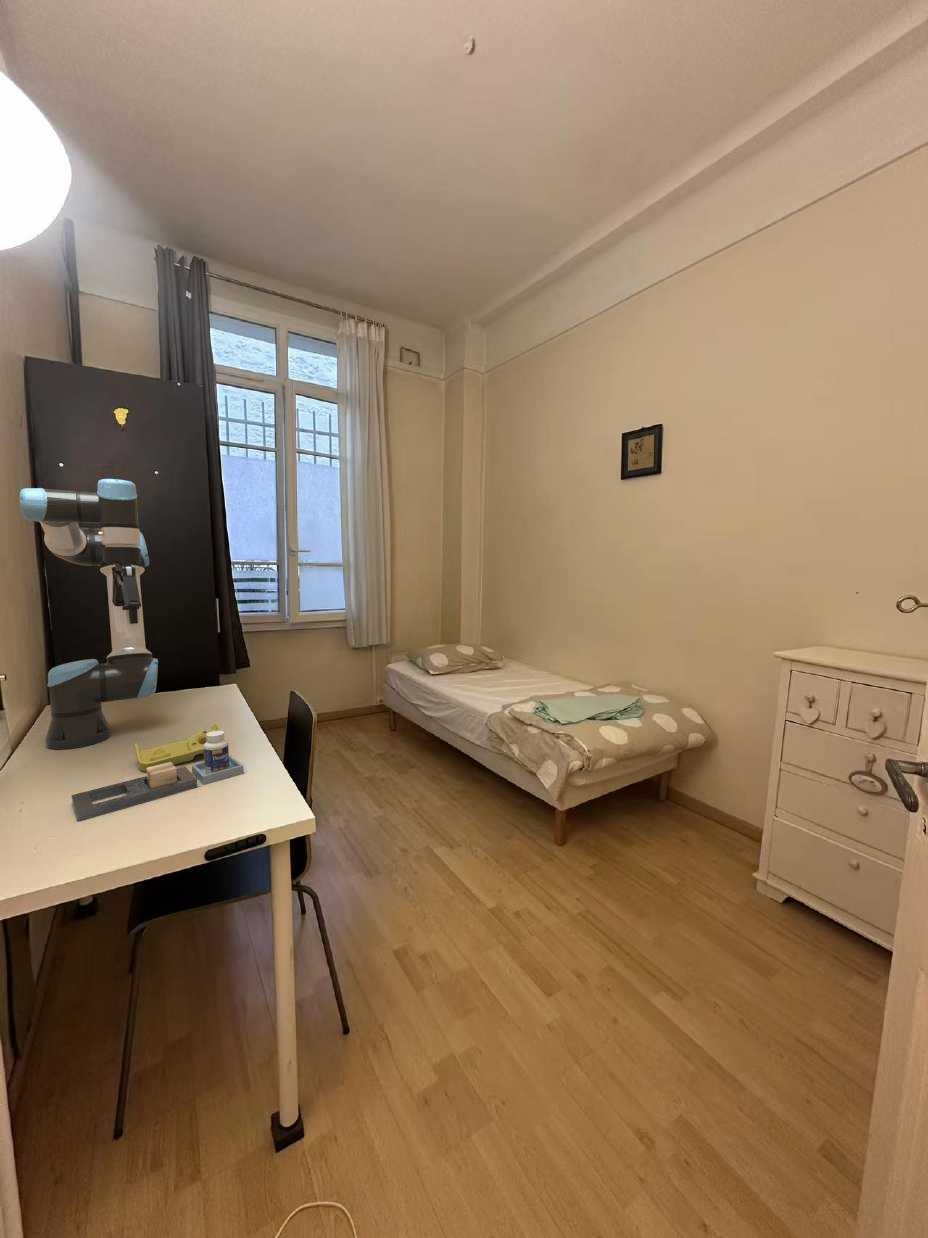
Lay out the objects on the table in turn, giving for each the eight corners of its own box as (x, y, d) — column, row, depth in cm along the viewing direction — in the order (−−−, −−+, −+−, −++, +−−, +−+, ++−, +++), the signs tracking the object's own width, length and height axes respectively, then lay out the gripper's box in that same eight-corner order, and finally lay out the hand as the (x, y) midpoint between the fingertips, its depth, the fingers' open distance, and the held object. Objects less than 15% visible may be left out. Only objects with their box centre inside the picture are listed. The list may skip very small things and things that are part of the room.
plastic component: (139, 766, 120) (133, 739, 126) (142, 787, 123) (136, 759, 130) (226, 742, 132) (216, 719, 138) (226, 762, 135) (217, 738, 141)
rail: (72, 804, 105) (71, 795, 105) (185, 774, 120) (184, 766, 120) (77, 821, 98) (77, 812, 98) (197, 787, 113) (196, 779, 113)
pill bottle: (213, 777, 117) (211, 738, 116) (200, 772, 120) (198, 734, 119) (234, 769, 122) (231, 731, 121) (221, 765, 125) (219, 728, 124)
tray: (192, 772, 121) (191, 765, 121) (230, 762, 127) (230, 755, 127) (203, 784, 115) (203, 776, 114) (243, 773, 121) (243, 765, 121)
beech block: (147, 788, 113) (146, 767, 112) (172, 782, 116) (171, 762, 116) (152, 795, 109) (150, 774, 109) (177, 789, 113) (176, 768, 112)
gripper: (94, 547, 122) (101, 631, 125) (111, 544, 104) (119, 641, 107) (129, 548, 128) (135, 628, 130) (151, 545, 110) (158, 638, 112)
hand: (128, 634), depth 118 cm, fingers open, 13 cm apart
